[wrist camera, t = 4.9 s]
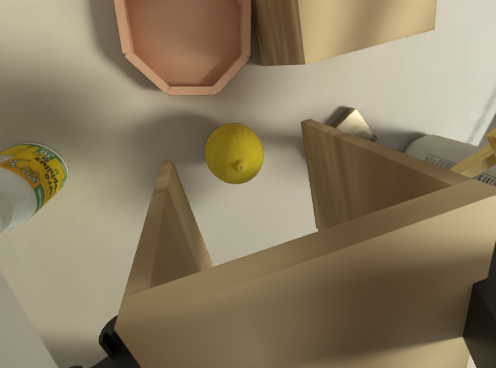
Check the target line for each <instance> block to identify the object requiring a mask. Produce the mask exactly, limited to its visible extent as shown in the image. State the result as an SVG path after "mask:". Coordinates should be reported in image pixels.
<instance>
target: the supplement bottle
mask: <svg viewBox="0 0 496 368" xmlns="http://www.w3.org/2000/svg"><path fill="white" fill-rule="evenodd" d="M68 175H69V172H68V167H67V165H66V163H65V161H64V159H63V158H62V157H61V156H60V155H59V154H58V153H57V152H55V151H54V150H52V149H50V148H49V147H47V146H45V145H41V144H38V143H22V144H18V145H16V146H13V147H11V148H9V149H7V150H4V151H2V152H0V233H1V232H2V231H4V230H6V229H11V228H15V227H18V226H20V225H22V224H24V223H25V222H26V221H28V220H29V219H30V218H31V217H32V216H33V215H34V214H35V213H36V212H37V211H38V210H40V209H41V208H42V207H43V206H44V205H45V204H46V203H47V202H48V201H49V200H50V199H51V198H52V197H53V196H54V195H55V194H56V193H57V192H58V191H59V190H60V189H61V188H62V187H63V186H64V185H65V183H66V181H67V179H68Z"/></svg>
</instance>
